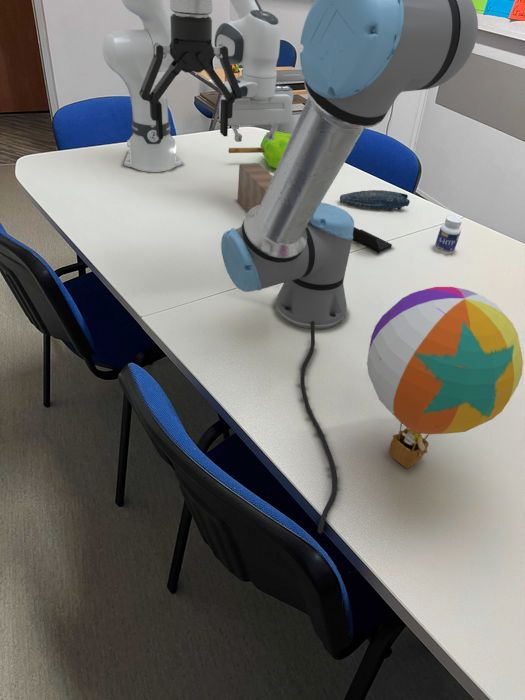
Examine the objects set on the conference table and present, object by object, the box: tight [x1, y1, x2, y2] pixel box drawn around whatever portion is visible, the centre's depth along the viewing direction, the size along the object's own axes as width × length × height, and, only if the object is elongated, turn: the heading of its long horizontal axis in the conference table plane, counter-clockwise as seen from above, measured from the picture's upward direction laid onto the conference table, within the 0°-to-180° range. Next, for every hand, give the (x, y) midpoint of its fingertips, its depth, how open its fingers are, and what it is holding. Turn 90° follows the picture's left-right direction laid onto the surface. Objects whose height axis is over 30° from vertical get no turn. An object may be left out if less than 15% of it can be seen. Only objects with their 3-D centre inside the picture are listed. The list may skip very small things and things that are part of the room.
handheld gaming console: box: [352, 226, 393, 254], centre depth 138 cm, size 12×7×10 cm
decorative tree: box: [228, 130, 292, 170], centre depth 179 cm, size 18×10×30 cm
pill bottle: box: [434, 215, 463, 255], centre depth 137 cm, size 5×5×9 cm
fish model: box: [339, 189, 411, 211], centre depth 158 cm, size 7×21×5 cm, turn 84°
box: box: [237, 162, 273, 213], centre depth 144 cm, size 26×6×11 cm, turn 23°
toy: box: [366, 286, 524, 469], centre depth 73 cm, size 20×20×30 cm
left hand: (254, 140), depth 143 cm, fingers open, 8 cm apart
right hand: (192, 135), depth 107 cm, fingers open, 13 cm apart
